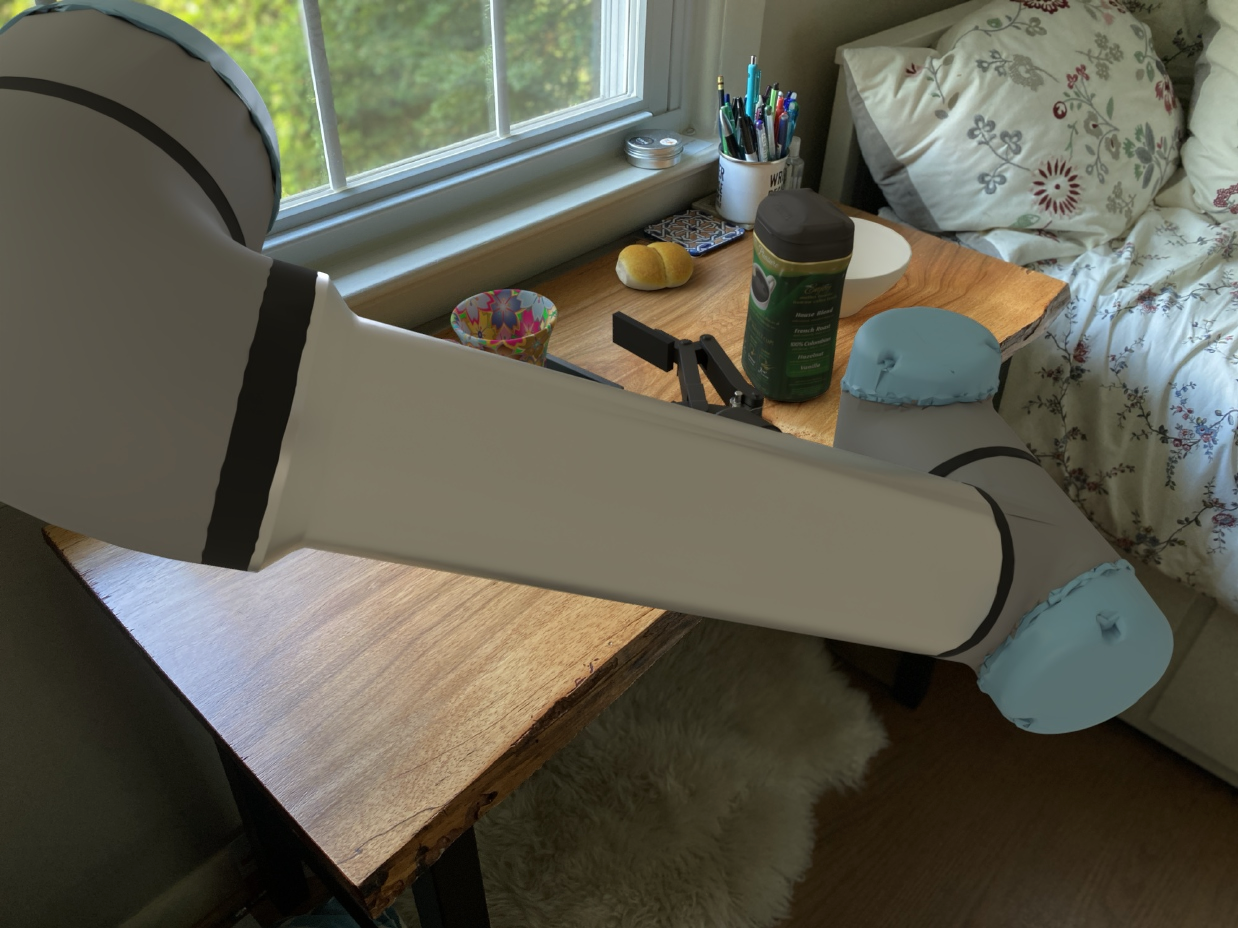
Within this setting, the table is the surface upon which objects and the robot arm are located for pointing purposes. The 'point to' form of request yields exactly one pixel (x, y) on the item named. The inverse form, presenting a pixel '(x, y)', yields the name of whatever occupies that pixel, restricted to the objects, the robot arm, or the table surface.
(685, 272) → the bread roll
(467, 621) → the table surface
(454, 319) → the mug
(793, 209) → the coffee jar
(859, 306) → the bowl
